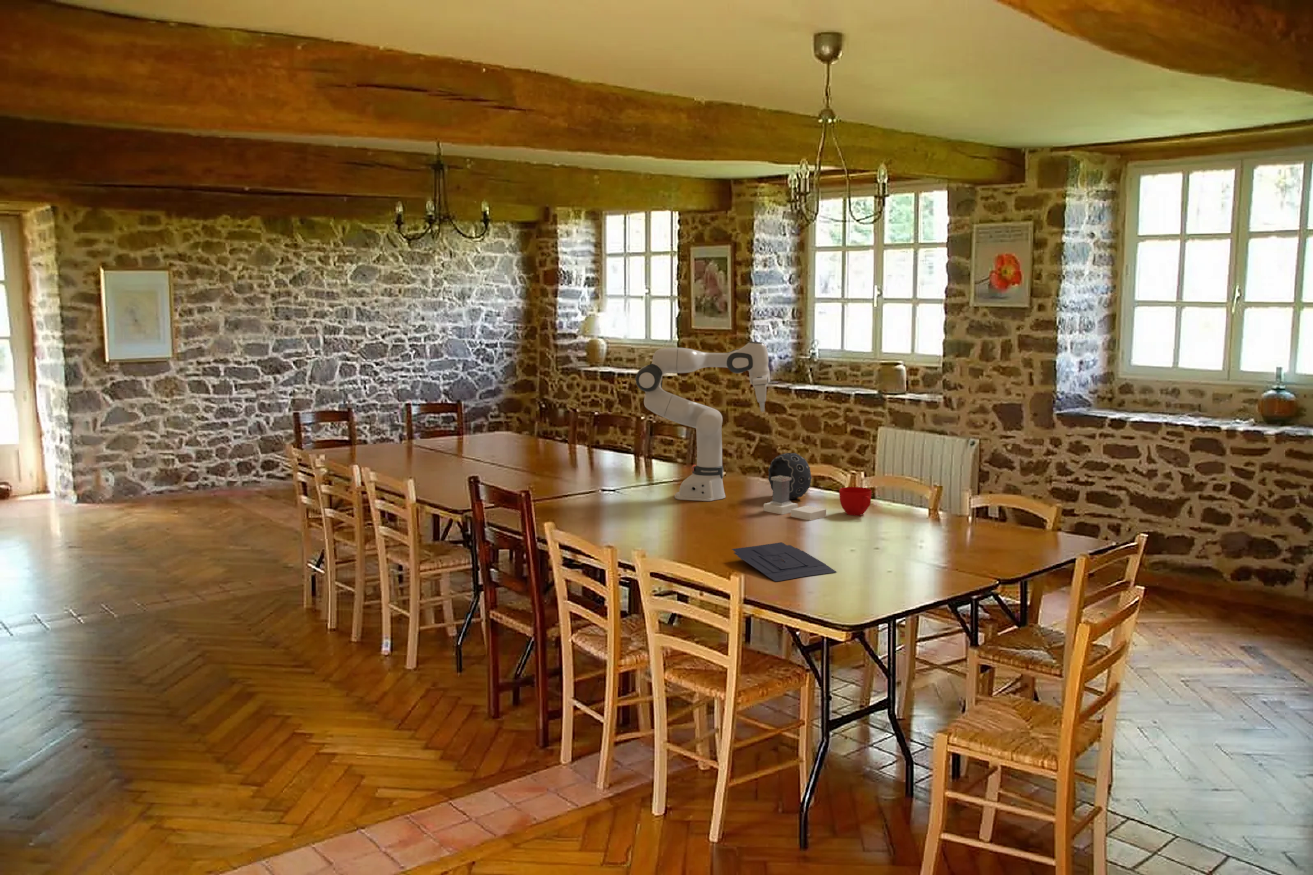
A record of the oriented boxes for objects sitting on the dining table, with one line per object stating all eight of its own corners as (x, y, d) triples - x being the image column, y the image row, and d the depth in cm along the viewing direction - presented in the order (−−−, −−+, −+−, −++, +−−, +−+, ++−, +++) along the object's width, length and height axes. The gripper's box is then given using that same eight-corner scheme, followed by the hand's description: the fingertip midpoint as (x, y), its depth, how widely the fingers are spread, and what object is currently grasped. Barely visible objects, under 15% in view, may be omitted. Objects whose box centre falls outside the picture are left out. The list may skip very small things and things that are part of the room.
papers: (785, 549, 368) (786, 539, 368) (836, 579, 343) (837, 569, 342) (726, 557, 358) (726, 547, 357) (774, 589, 332) (775, 579, 331)
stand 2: (810, 520, 417) (810, 513, 417) (790, 516, 424) (791, 509, 424) (826, 516, 424) (826, 509, 424) (806, 512, 431) (806, 505, 431)
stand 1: (782, 514, 428) (782, 507, 428) (763, 510, 435) (763, 503, 435) (797, 510, 435) (797, 503, 435) (779, 507, 442) (779, 500, 442)
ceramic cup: (855, 520, 417) (855, 495, 415) (832, 512, 432) (833, 488, 431) (882, 517, 422) (883, 493, 420) (859, 509, 437) (860, 485, 436)
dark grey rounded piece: (785, 493, 472) (785, 449, 469) (813, 501, 455) (814, 455, 452) (765, 495, 466) (766, 451, 463) (793, 503, 449) (794, 457, 446)
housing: (781, 505, 431) (782, 479, 429) (770, 503, 435) (770, 477, 433) (791, 503, 435) (791, 477, 433) (780, 501, 439) (780, 475, 437)
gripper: (752, 377, 465) (755, 408, 467) (752, 381, 445) (755, 413, 446) (767, 375, 464) (770, 406, 466) (767, 380, 444) (770, 412, 446)
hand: (762, 410), depth 456 cm, fingers open, 8 cm apart
